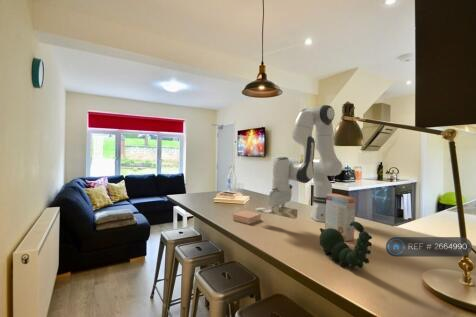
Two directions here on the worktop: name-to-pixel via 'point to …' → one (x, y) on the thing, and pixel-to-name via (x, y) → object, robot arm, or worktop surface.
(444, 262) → the worktop surface
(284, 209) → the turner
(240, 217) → the tile
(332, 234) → the toy figurine
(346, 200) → the cracker box
